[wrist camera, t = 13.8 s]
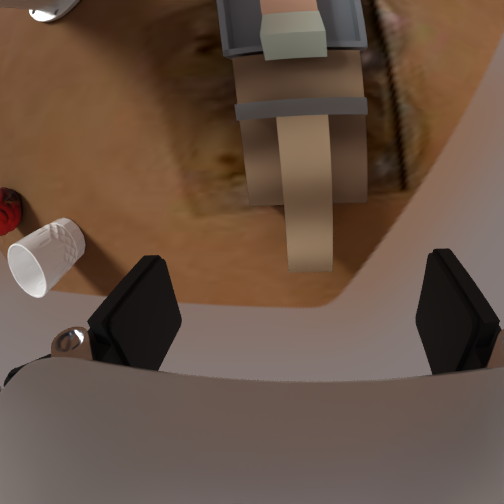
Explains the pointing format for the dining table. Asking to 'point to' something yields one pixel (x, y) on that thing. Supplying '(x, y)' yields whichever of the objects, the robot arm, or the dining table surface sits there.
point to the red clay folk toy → (9, 210)
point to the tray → (250, 18)
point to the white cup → (46, 256)
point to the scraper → (305, 172)
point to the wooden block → (295, 87)
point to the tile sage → (293, 35)
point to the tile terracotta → (287, 6)
